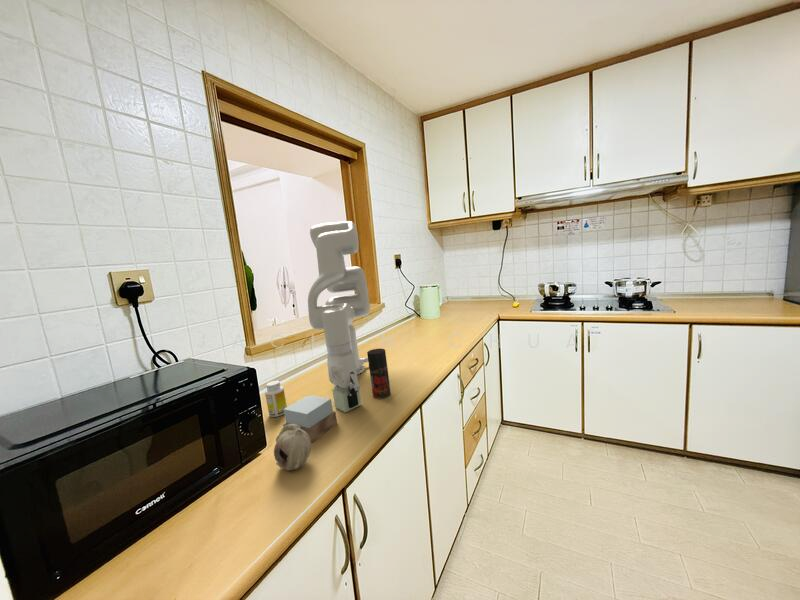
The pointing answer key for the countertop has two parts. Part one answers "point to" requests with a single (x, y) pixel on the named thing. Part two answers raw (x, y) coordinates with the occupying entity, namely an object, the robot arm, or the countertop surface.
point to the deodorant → (379, 373)
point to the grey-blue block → (308, 411)
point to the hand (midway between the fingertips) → (347, 402)
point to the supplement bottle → (275, 399)
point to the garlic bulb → (292, 447)
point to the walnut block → (320, 427)
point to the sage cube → (343, 398)
